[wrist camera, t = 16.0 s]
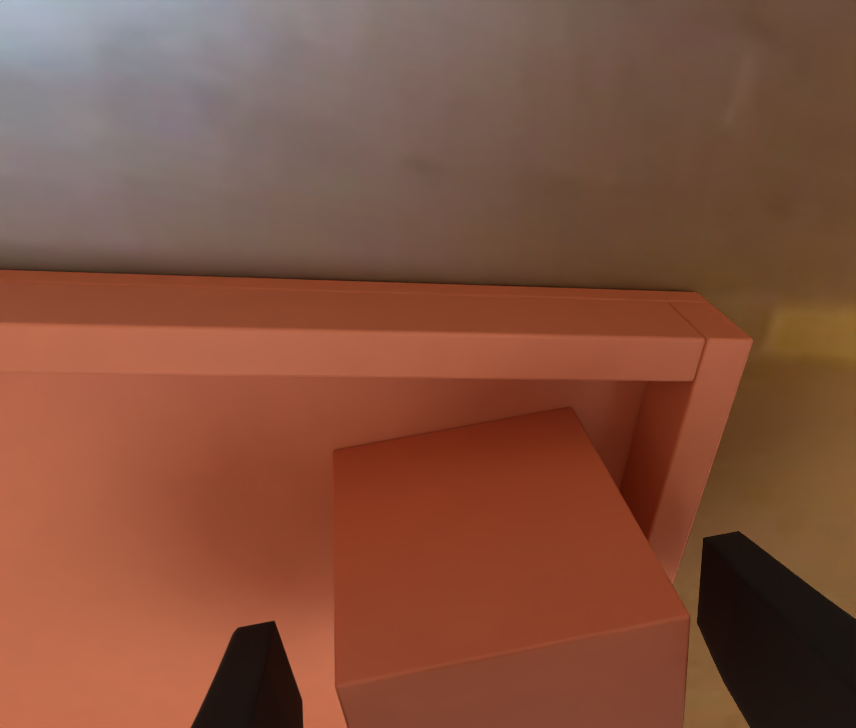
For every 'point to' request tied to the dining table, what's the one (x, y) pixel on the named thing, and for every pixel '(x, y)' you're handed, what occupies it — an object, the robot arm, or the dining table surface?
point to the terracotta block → (499, 585)
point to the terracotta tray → (285, 455)
